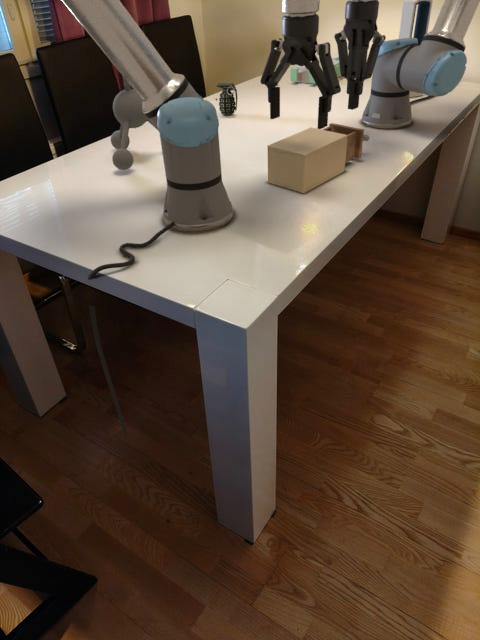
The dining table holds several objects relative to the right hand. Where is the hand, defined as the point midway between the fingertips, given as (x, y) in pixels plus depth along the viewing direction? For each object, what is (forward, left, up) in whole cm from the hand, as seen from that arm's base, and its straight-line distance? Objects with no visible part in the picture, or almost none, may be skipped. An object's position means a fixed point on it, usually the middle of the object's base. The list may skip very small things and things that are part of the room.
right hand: (353, 108), depth 126 cm
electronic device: (-66, -9, -12) cm, 67 cm away
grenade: (-16, -53, -12) cm, 57 cm away
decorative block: (-78, -51, -12) cm, 94 cm away
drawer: (+7, -1, -11) cm, 13 cm away
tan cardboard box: (+19, -2, -12) cm, 23 cm away
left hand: (+23, -3, +2) cm, 23 cm away
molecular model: (+27, -50, -12) cm, 58 cm away
